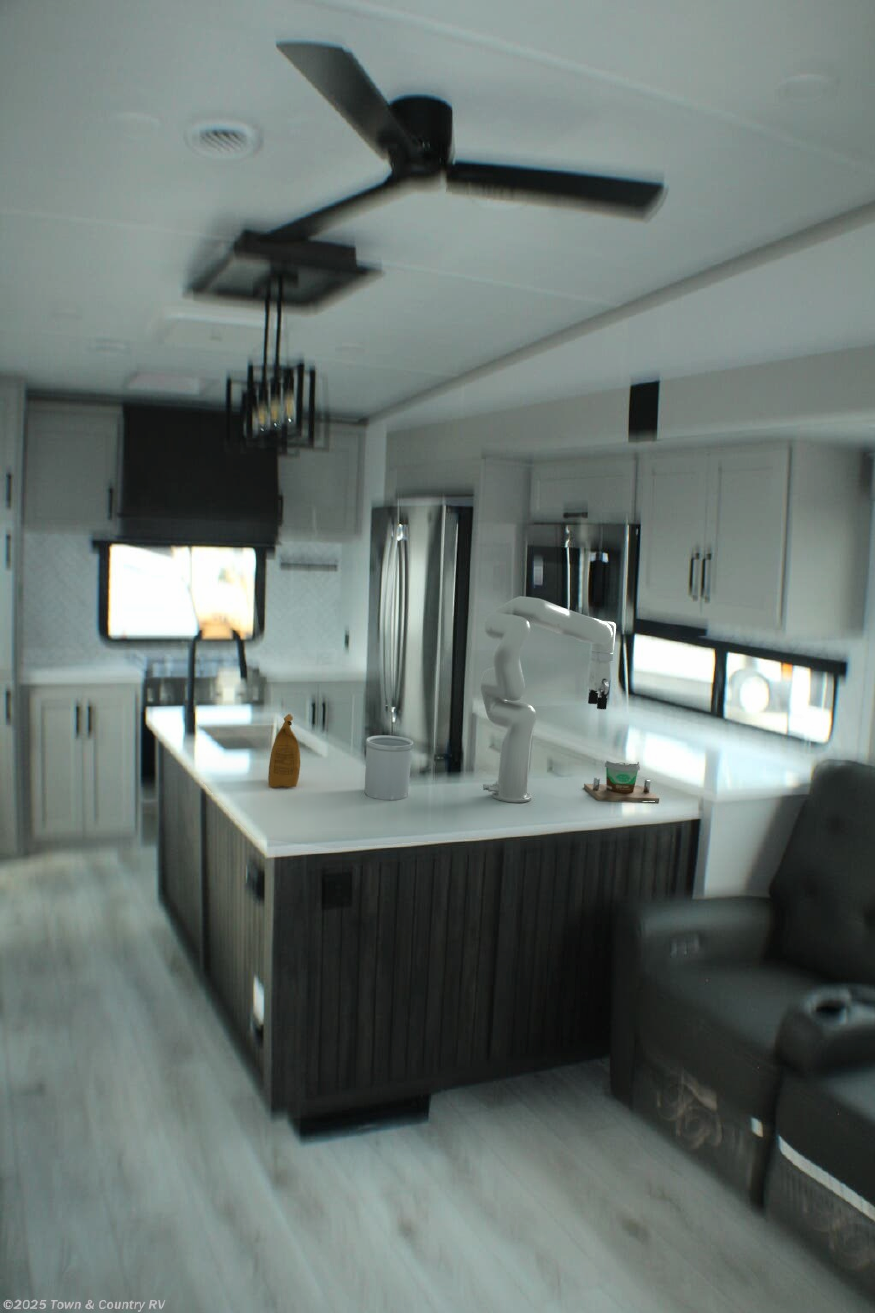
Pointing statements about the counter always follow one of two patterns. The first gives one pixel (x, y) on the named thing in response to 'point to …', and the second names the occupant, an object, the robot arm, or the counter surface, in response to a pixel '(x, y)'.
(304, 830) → the counter surface
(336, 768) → the counter surface
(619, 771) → the food container
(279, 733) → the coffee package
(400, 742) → the utensil holder
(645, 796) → the board
